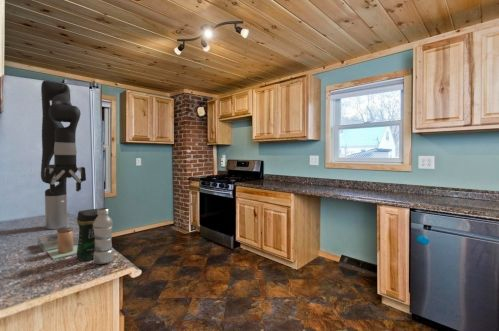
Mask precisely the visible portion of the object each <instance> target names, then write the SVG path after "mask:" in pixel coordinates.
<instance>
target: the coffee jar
mask: <svg viewBox="0 0 499 331" xmlns="http://www.w3.org/2000/svg"><path fill="white" fill-rule="evenodd" d="M100 208H101V207H100ZM100 208H93V209H92V208H91V209H84V210H79V211H78V213H77V218H76V224H77V226H78V245H77V246H78V248H77V254H76V258H77V259H78V260H79V261H90V260H93V254H94V248H95V237H94V230H93V222H94V220H95V219H96V217H97V216H98V215H97V209H100Z"/></svg>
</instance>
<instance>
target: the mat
mask: <svg viewBox="0 0 499 331" xmlns="http://www.w3.org/2000/svg"><path fill="white" fill-rule="evenodd" d="M77 248H78V245H75V246H73V251H72V252H69V253H65V254H59V253H58V249H56V250H51V251H47V252H46V253H47V254H48V255H49V256H50V258H51V259H52V260H56V259H62V258H65V257H71V256H75V255H77Z"/></svg>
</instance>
